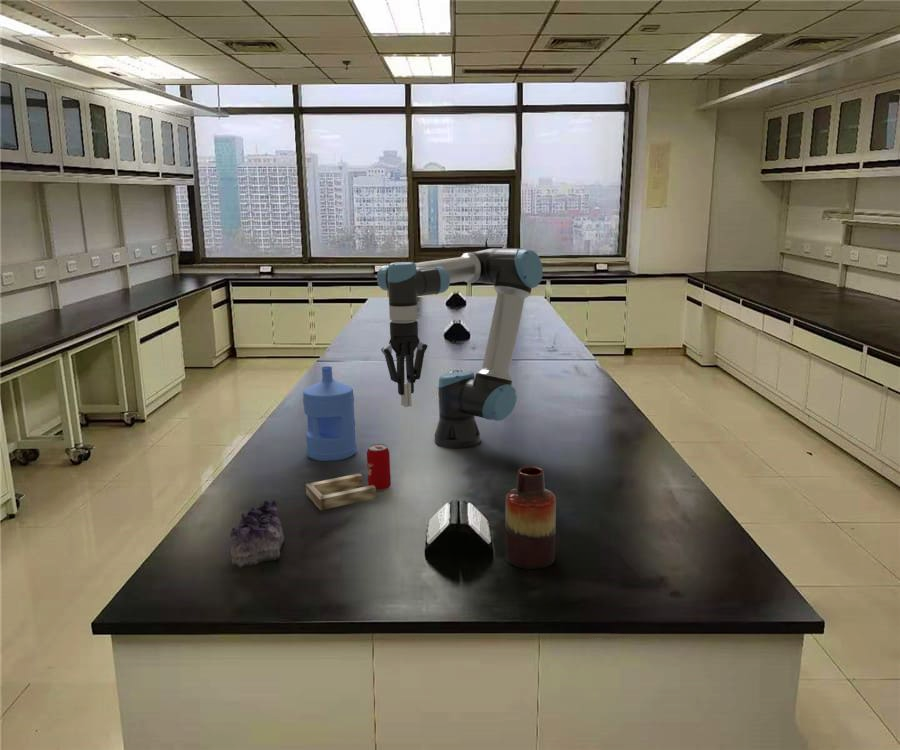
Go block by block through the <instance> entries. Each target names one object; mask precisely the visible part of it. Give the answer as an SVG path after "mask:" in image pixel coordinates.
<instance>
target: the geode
mask: <svg viewBox="0 0 900 750" xmlns="http://www.w3.org/2000/svg"><path fill="white" fill-rule="evenodd" d="M229 535H230V537H231V549H230V550H231V551H230V556H231V563H232V564H231V565H234V566H236V567H237V568H239V569H242V568H245V567H250V566H254V565H258V564H260V563H266V562H271V561H272V562H273V561H277V560H279V559H280V558H281V549H282V548H283V544H285V541H286V538H285V537H286V536H285V535H284V531H283V527H282V522H281V521H280V514H279V504H278V503H277V502H276V501H275V500H272V501H271V502H269V501H267V500H264V502H263V503H260V504H259V506H258V507H255V506H254V507H252V508H251V509H250V510H248V512H246V513H245V512H242V513H241V519H240V522H239V523H237V525H236V526H234V527H232V529H231V531H230V533H229Z"/></svg>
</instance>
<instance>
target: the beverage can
mask: <svg viewBox="0 0 900 750" xmlns="http://www.w3.org/2000/svg"><path fill="white" fill-rule="evenodd" d="M390 455H391V454H390V450H389V448H388V445H387V444H384V443H373V444H371V445H369V446H368V447H367V450H366V465H367V467H366V468H367V486H370V485H374V486H375V487H376V492H382V491H385V490H388V489H389V488H390V487H391V485H392V484H391V483H392V482H391V460H390V459H391V458H390Z"/></svg>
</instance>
